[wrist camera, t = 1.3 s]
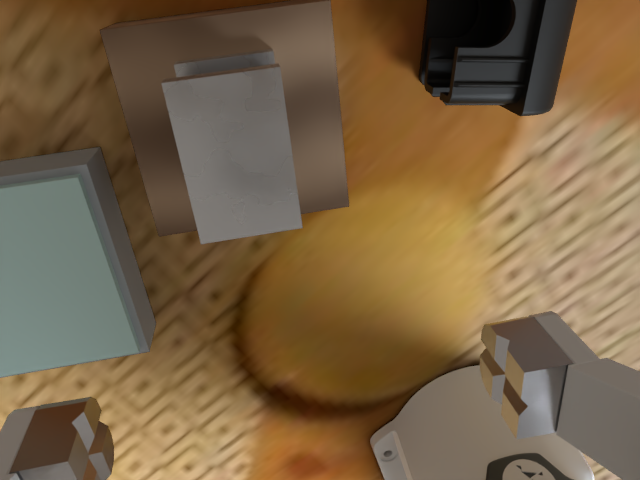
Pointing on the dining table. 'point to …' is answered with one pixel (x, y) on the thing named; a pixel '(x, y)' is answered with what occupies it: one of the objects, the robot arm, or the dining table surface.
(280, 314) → the dining table surface
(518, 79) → the end cap
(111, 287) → the stand
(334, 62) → the stand
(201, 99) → the block
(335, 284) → the dining table surface
